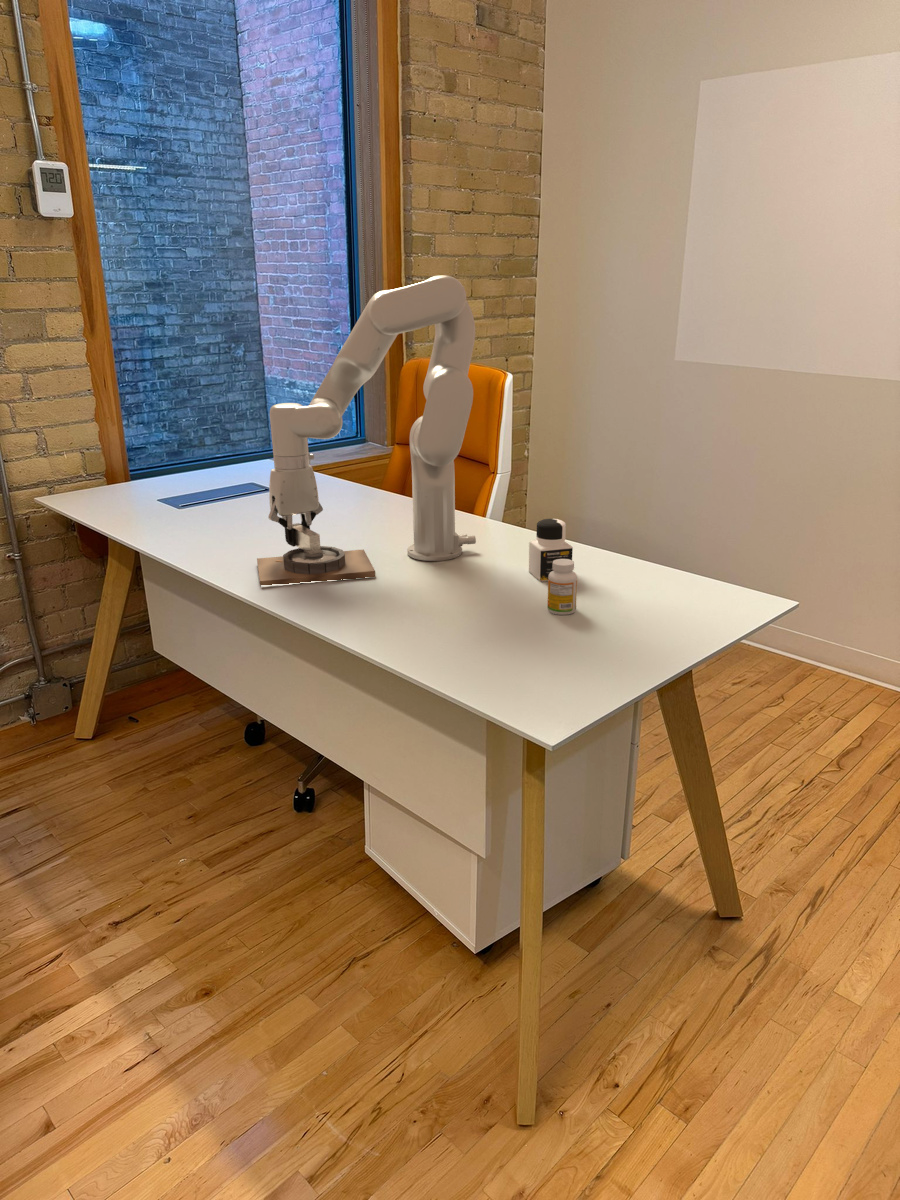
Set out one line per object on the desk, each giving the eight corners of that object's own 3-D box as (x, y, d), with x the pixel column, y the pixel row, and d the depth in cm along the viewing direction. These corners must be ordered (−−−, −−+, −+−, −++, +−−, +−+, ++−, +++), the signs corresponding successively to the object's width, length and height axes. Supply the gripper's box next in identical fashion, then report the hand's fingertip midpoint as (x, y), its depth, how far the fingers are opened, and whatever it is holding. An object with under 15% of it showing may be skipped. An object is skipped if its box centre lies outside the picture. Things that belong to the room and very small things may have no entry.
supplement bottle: (557, 603, 167) (558, 555, 164) (581, 609, 164) (583, 560, 160) (541, 611, 163) (543, 562, 160) (566, 617, 160) (567, 568, 157)
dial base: (363, 555, 198) (363, 540, 196) (375, 577, 183) (374, 560, 182) (257, 564, 192) (256, 548, 191) (260, 588, 178) (258, 571, 176)
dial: (345, 565, 186) (343, 535, 183) (302, 573, 181) (300, 543, 178) (315, 548, 197) (313, 520, 195) (275, 556, 192) (272, 527, 190)
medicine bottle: (540, 582, 179) (541, 526, 175) (528, 571, 185) (529, 517, 181) (571, 579, 181) (574, 523, 176) (559, 568, 187) (560, 515, 183)
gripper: (316, 454, 193) (322, 533, 200) (249, 464, 184) (257, 546, 191) (333, 459, 188) (338, 540, 194) (264, 470, 179) (272, 554, 185)
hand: (298, 542), depth 192 cm, fingers closed on dial, 2 cm apart
